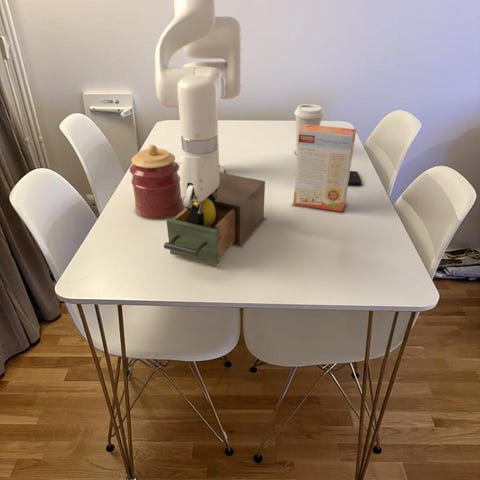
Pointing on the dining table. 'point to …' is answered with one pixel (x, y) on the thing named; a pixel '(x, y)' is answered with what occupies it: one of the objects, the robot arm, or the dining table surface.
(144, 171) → the kitchen canister
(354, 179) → the cell phone
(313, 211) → the dining table surface
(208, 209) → the lemon
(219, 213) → the drawer
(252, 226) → the cabinet
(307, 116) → the coffee cup
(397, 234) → the dining table surface
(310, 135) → the cracker box
